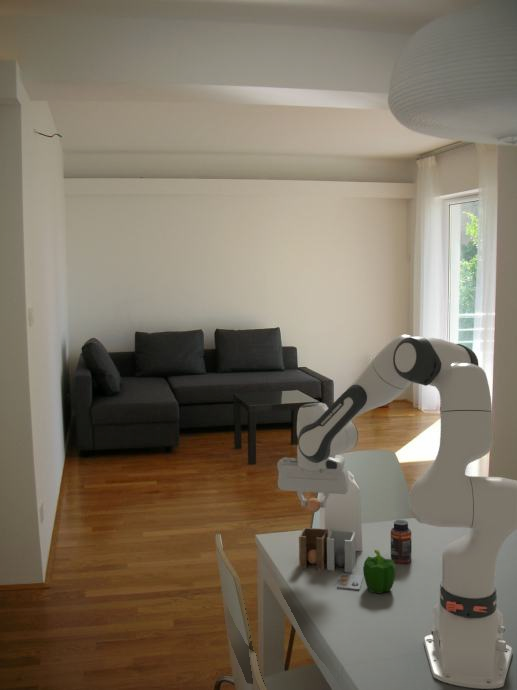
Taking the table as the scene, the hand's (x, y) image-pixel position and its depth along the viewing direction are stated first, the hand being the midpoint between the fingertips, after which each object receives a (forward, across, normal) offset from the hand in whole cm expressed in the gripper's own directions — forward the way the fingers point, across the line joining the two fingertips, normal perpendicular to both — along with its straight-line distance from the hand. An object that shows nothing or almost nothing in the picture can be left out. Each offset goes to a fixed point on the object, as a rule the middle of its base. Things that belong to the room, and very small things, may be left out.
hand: (313, 506), depth 201 cm
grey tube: (+17, +8, 0) cm, 19 cm away
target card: (+17, +12, -10) cm, 23 cm away
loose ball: (+2, 0, 0) cm, 2 cm away
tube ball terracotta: (+17, 0, 0) cm, 17 cm away
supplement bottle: (+17, +24, +8) cm, 30 cm away
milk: (+17, +5, +16) cm, 24 cm away
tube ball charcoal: (+17, +8, 0) cm, 19 cm away
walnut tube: (+17, 0, 0) cm, 17 cm away
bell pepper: (+17, +20, -12) cm, 29 cm away
